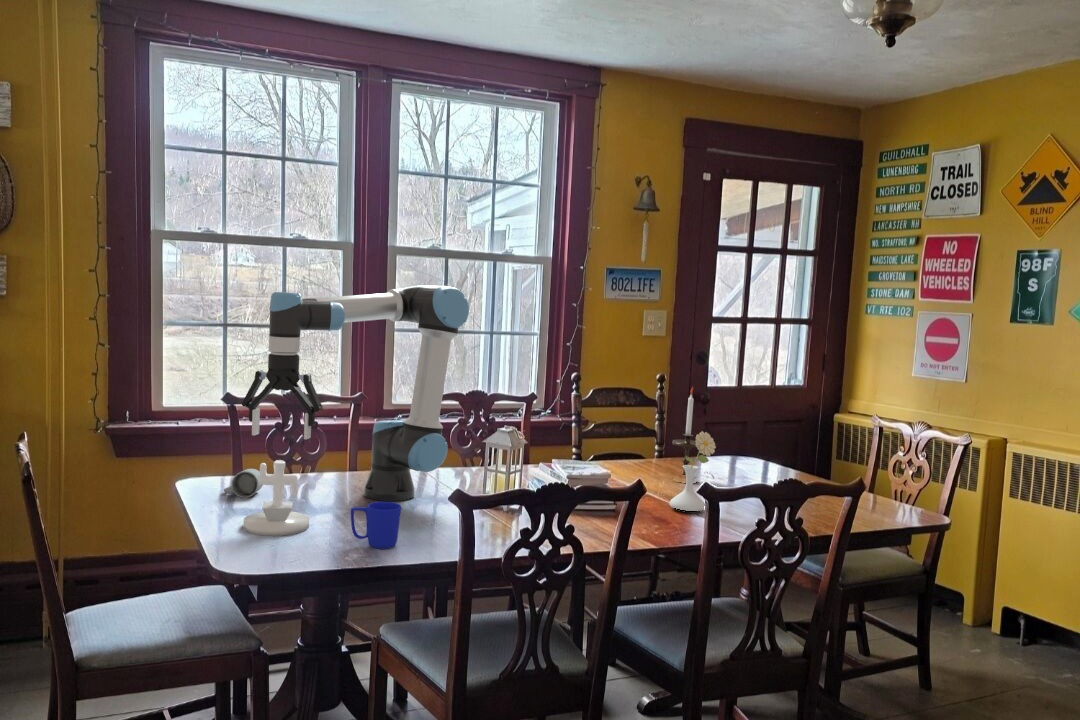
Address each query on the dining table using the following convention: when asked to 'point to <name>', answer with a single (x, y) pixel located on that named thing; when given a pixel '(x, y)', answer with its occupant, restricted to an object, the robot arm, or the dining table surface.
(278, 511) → the figurine
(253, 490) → the ceramic mug
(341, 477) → the dining table surface
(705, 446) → the flower in vase
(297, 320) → the robot arm
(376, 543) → the mug
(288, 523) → the disc
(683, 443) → the candlestick
